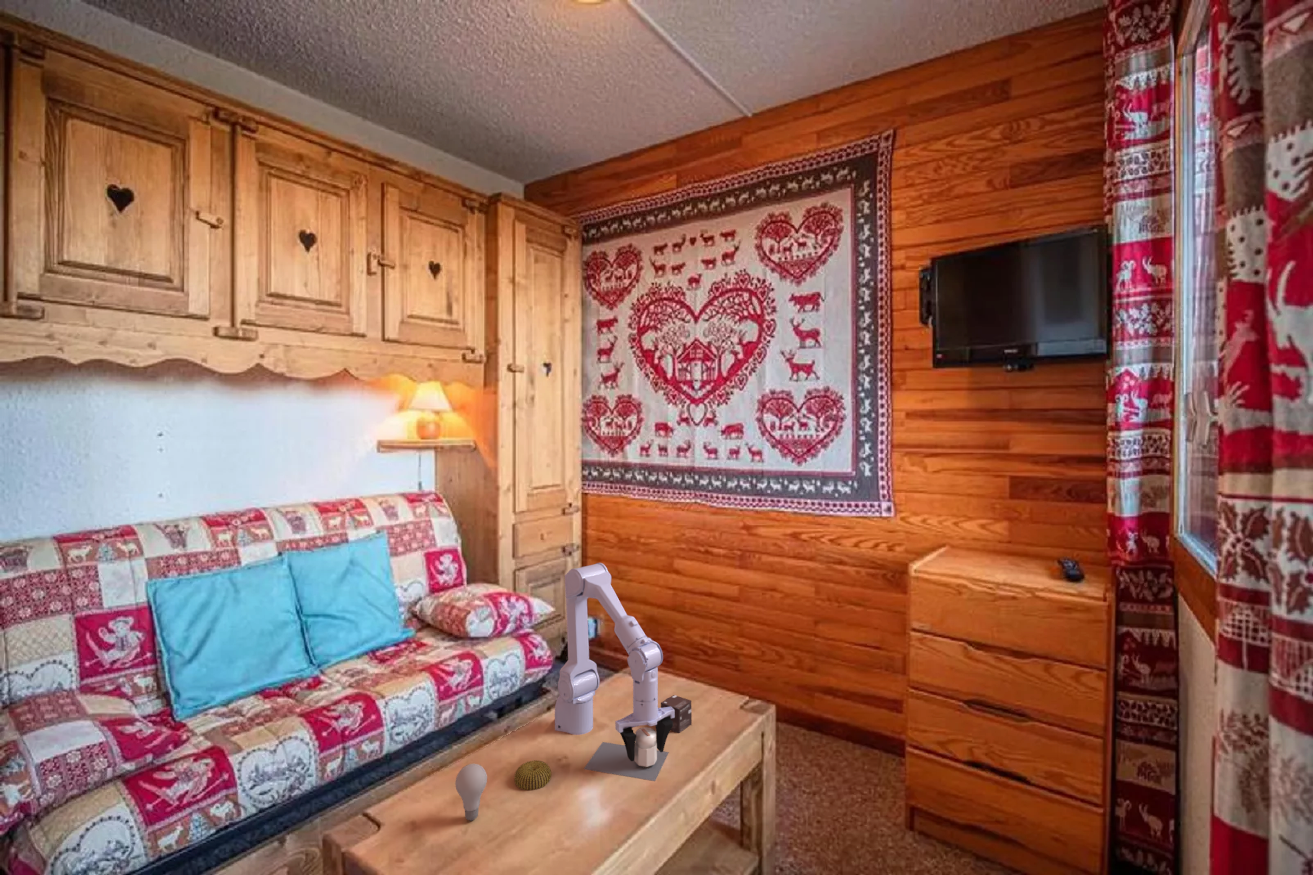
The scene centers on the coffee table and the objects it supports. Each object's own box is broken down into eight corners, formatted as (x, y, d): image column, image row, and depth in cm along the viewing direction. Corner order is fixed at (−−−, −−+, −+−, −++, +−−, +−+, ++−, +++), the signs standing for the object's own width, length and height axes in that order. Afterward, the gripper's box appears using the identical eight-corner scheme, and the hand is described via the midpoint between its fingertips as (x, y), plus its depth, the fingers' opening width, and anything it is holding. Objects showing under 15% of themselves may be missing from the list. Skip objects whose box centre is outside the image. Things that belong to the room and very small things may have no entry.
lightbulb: (476, 806, 125) (475, 754, 125) (493, 818, 121) (493, 764, 121) (449, 821, 120) (449, 767, 120) (467, 834, 116) (466, 778, 116)
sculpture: (526, 782, 127) (507, 766, 133) (527, 800, 127) (507, 784, 133) (558, 767, 132) (538, 752, 138) (558, 784, 133) (538, 770, 138)
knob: (641, 768, 136) (641, 739, 135) (631, 758, 140) (631, 729, 140) (659, 762, 138) (659, 734, 138) (650, 752, 142) (650, 724, 142)
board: (583, 773, 137) (583, 768, 137) (602, 745, 148) (602, 742, 148) (655, 785, 132) (655, 781, 132) (668, 756, 144) (668, 752, 143)
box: (678, 737, 152) (678, 709, 152) (659, 730, 156) (659, 702, 156) (692, 727, 157) (692, 700, 157) (673, 721, 161) (673, 694, 160)
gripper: (624, 711, 131) (624, 771, 132) (681, 696, 138) (681, 754, 139) (611, 698, 138) (611, 756, 138) (666, 684, 145) (666, 740, 145)
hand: (645, 754), depth 139 cm, fingers open, 7 cm apart
